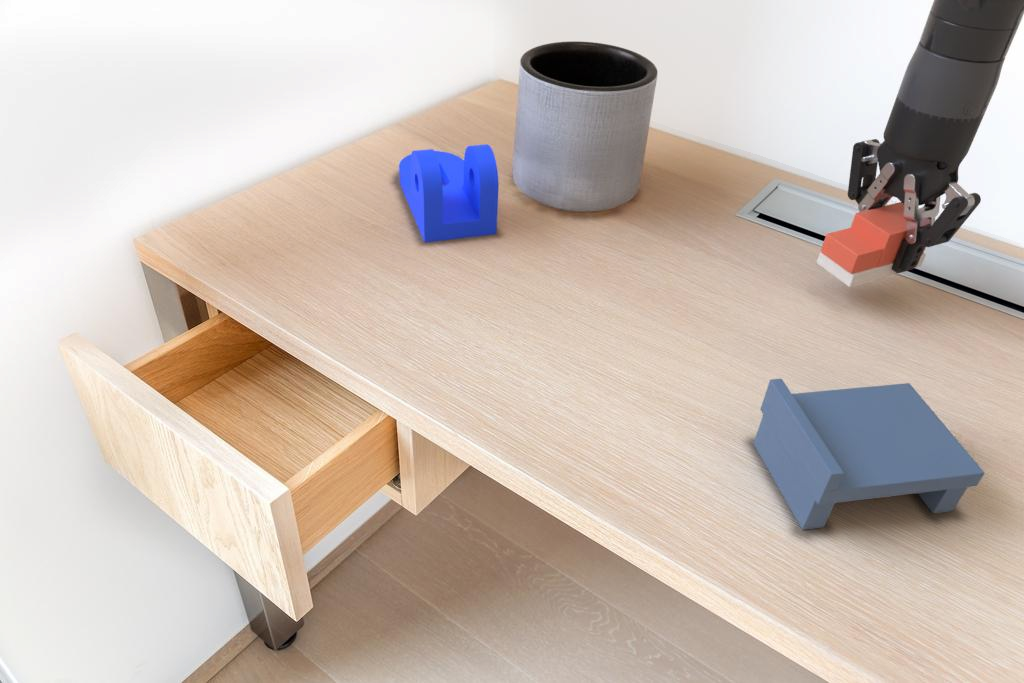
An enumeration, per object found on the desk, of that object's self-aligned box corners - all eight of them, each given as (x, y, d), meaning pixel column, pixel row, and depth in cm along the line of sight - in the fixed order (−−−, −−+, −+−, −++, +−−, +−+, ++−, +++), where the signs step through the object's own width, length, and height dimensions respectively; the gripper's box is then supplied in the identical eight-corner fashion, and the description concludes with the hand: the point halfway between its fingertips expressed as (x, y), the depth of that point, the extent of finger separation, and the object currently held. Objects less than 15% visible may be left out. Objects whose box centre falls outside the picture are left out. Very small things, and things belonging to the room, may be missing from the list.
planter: (504, 157, 106) (511, 38, 96) (622, 157, 108) (640, 40, 98) (520, 219, 93) (528, 89, 83) (652, 217, 95) (676, 90, 85)
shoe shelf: (888, 425, 69) (917, 366, 65) (958, 516, 62) (996, 456, 57) (749, 439, 67) (769, 379, 63) (803, 535, 59) (831, 474, 55)
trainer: (886, 243, 86) (903, 200, 83) (921, 266, 83) (940, 222, 80) (814, 263, 83) (829, 218, 79) (847, 288, 79) (864, 242, 76)
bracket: (496, 234, 90) (499, 161, 85) (424, 242, 88) (423, 168, 83) (457, 163, 104) (457, 96, 98) (393, 169, 101) (390, 100, 96)
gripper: (1039, 123, 69) (961, 285, 79) (910, 66, 79) (857, 217, 89) (979, 136, 66) (907, 302, 77) (854, 76, 76) (805, 230, 87)
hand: (880, 256), depth 83 cm, fingers closed on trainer, 4 cm apart
